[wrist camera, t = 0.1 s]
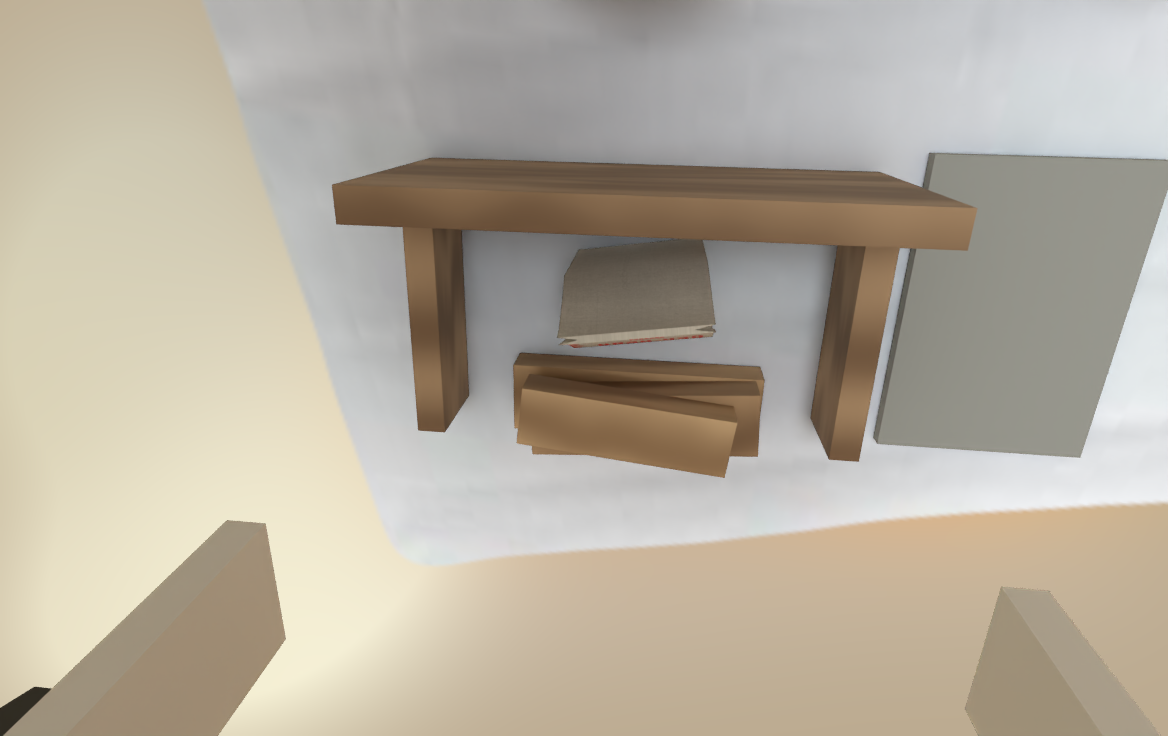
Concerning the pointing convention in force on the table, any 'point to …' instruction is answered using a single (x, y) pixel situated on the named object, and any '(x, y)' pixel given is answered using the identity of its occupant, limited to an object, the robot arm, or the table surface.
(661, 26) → the table surface
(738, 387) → the offcut stack
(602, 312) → the tea bag
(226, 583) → the robot arm
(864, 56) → the table surface
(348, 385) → the table surface
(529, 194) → the bench
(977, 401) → the mat
